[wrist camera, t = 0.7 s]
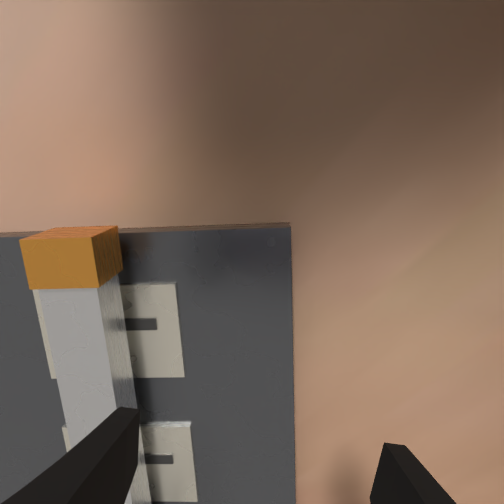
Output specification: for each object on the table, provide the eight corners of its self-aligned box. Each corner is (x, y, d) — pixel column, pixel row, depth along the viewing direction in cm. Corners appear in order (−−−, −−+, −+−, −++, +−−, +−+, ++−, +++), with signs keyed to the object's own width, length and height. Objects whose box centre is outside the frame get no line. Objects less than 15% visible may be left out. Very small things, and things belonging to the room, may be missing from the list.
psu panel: (21, 546, 24) (5, 571, 22) (-64, 235, 18) (-93, 241, 17) (295, 550, 23) (297, 577, 21) (289, 222, 17) (291, 228, 16)
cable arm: (169, 564, 21) (146, 654, 18) (123, 564, 22) (91, 653, 18) (121, 223, 16) (75, 244, 12) (62, 225, 16) (-3, 246, 12)
